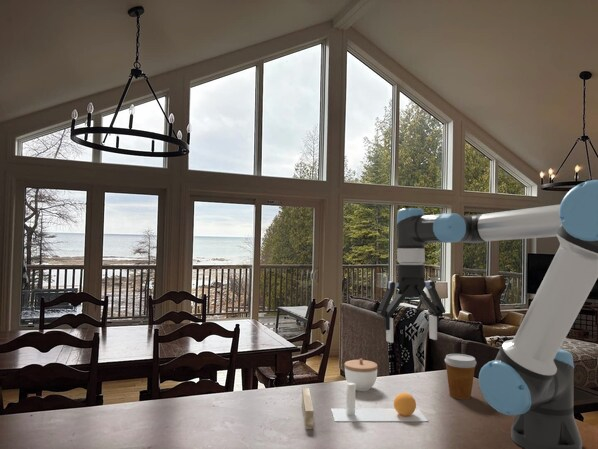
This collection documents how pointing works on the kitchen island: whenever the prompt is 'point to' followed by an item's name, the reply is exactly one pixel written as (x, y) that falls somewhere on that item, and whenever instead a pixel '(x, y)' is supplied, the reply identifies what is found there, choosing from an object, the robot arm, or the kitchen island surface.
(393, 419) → the plate
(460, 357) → the disposable coffee cup
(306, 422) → the backstop
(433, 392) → the kitchen island surface
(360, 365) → the lidded jar
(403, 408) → the ball
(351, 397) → the pin
